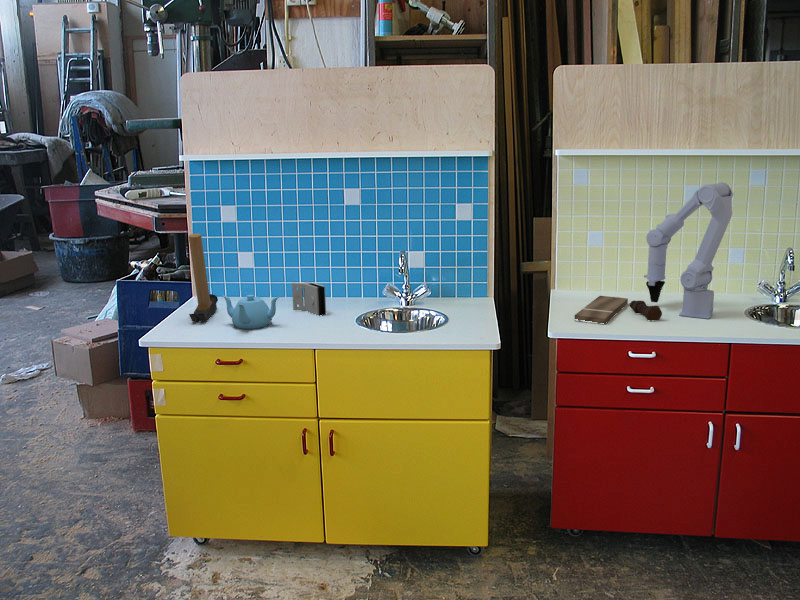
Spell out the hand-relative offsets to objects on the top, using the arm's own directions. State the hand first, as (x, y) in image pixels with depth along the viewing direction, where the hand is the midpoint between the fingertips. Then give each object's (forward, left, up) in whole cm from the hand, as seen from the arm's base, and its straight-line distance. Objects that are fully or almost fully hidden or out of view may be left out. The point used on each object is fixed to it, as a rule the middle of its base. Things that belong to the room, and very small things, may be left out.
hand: (654, 301), depth 263 cm
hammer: (+135, +80, -2) cm, 157 cm away
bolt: (+1, +13, -2) cm, 14 cm away
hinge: (+105, +60, -2) cm, 121 cm away
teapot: (+112, +83, -2) cm, 139 cm away
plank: (+14, +16, -2) cm, 21 cm away
